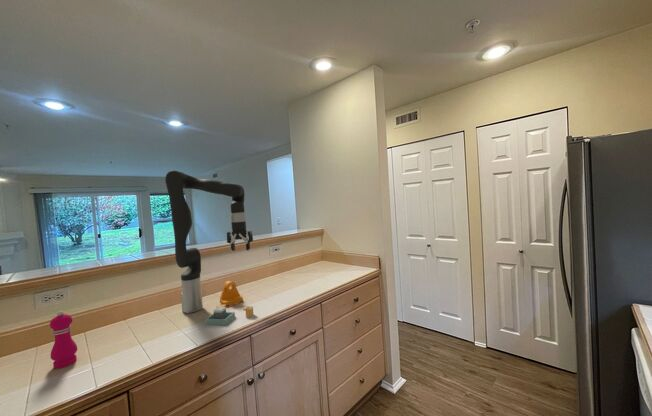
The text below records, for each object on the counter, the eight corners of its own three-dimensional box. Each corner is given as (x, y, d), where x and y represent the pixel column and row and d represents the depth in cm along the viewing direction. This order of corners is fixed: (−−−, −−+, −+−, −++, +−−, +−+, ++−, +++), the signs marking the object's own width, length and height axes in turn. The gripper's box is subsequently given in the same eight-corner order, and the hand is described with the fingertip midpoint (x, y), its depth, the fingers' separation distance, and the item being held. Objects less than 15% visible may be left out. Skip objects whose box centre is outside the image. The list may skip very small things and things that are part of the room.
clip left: (217, 314, 137) (216, 306, 136) (220, 312, 140) (219, 304, 139) (223, 314, 136) (223, 307, 136) (226, 312, 139) (226, 304, 139)
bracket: (224, 307, 146) (222, 285, 145) (220, 304, 151) (218, 283, 151) (243, 301, 152) (242, 280, 152) (238, 298, 158) (237, 278, 158)
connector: (214, 322, 127) (213, 310, 127) (219, 319, 131) (218, 306, 131) (221, 323, 127) (220, 310, 126) (226, 319, 130) (225, 307, 130)
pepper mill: (83, 357, 104) (78, 306, 104) (66, 368, 97) (60, 314, 96) (64, 358, 104) (59, 307, 103) (45, 370, 97) (40, 316, 96)
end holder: (206, 324, 126) (205, 319, 126) (216, 316, 134) (215, 311, 134) (225, 325, 124) (225, 319, 124) (235, 317, 132) (234, 312, 132)
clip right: (253, 314, 134) (252, 306, 134) (250, 317, 131) (250, 309, 131) (246, 314, 135) (246, 306, 134) (243, 317, 132) (243, 309, 131)
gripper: (222, 222, 144) (225, 252, 145) (247, 220, 142) (249, 251, 142) (230, 220, 152) (232, 249, 152) (253, 219, 149) (255, 248, 150)
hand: (240, 250), depth 147 cm, fingers open, 8 cm apart
